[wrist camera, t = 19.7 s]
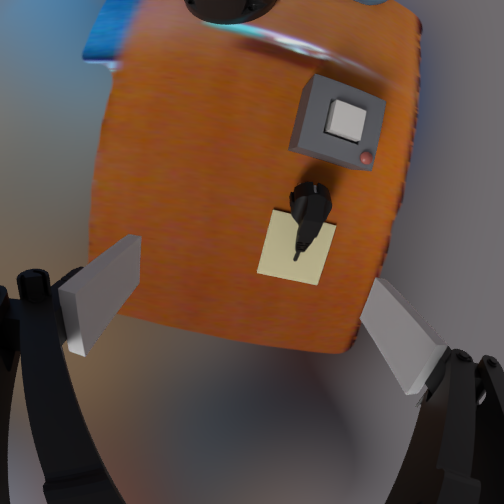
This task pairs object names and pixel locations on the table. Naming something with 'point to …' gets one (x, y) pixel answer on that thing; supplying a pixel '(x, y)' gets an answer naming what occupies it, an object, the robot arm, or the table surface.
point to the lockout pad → (293, 250)
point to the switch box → (314, 117)
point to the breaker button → (344, 121)
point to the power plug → (309, 212)
